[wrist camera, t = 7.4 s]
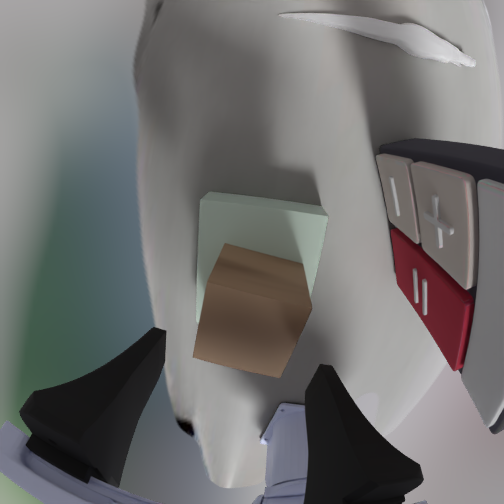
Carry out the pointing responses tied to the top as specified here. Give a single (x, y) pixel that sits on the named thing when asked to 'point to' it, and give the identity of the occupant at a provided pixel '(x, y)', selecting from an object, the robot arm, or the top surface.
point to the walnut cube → (252, 311)
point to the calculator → (453, 254)
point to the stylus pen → (393, 35)
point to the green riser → (258, 232)
